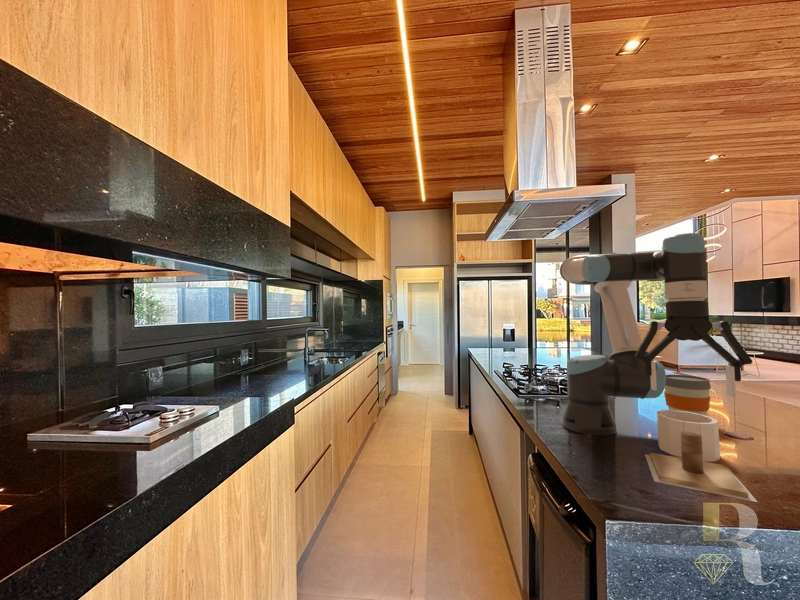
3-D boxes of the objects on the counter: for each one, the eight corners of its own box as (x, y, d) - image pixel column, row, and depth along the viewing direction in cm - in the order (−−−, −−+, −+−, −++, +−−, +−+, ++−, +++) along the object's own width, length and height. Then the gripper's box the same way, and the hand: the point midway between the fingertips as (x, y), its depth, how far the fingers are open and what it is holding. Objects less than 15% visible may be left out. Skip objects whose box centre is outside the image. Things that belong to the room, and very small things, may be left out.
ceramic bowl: (663, 456, 85) (661, 419, 85) (655, 441, 95) (654, 408, 96) (726, 467, 79) (724, 426, 79) (711, 449, 89) (709, 414, 89)
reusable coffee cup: (707, 419, 114) (705, 376, 115) (717, 430, 103) (715, 382, 104) (661, 414, 121) (659, 373, 122) (666, 423, 110) (664, 378, 111)
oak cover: (659, 480, 72) (657, 438, 72) (650, 456, 84) (648, 421, 84) (748, 498, 65) (745, 451, 65) (724, 469, 77) (722, 430, 77)
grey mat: (654, 482, 72) (654, 481, 72) (644, 455, 85) (644, 454, 85) (758, 504, 63) (757, 501, 63) (729, 470, 77) (729, 468, 77)
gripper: (623, 301, 79) (626, 389, 78) (770, 297, 67) (776, 402, 66) (620, 302, 86) (623, 384, 85) (754, 299, 73) (760, 395, 72)
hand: (690, 392), depth 75 cm, fingers open, 13 cm apart
